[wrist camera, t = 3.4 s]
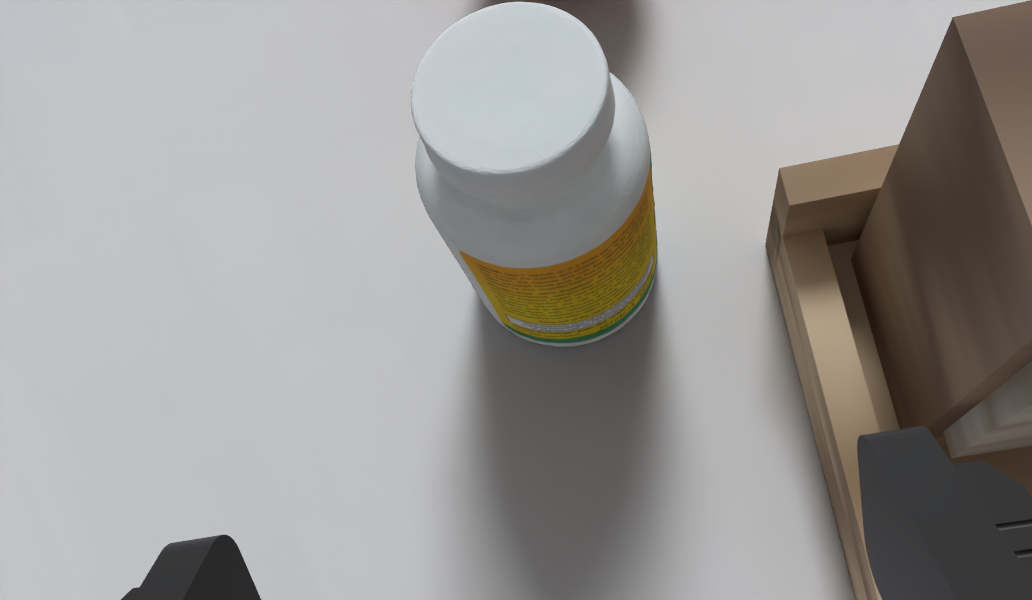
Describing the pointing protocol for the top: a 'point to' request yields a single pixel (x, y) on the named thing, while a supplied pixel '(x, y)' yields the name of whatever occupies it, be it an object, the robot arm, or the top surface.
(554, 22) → the supplement bottle
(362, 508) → the top surface
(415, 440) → the top surface
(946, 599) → the robot arm
